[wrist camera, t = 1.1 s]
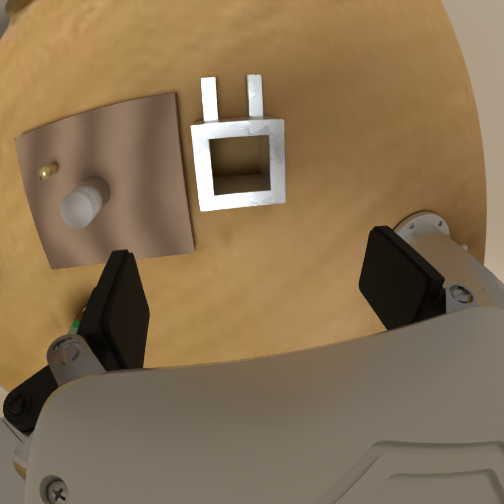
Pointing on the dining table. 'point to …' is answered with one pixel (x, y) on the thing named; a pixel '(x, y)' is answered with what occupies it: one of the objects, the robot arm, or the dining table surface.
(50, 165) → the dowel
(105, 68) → the dining table surface
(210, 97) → the bracket
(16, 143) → the post board
